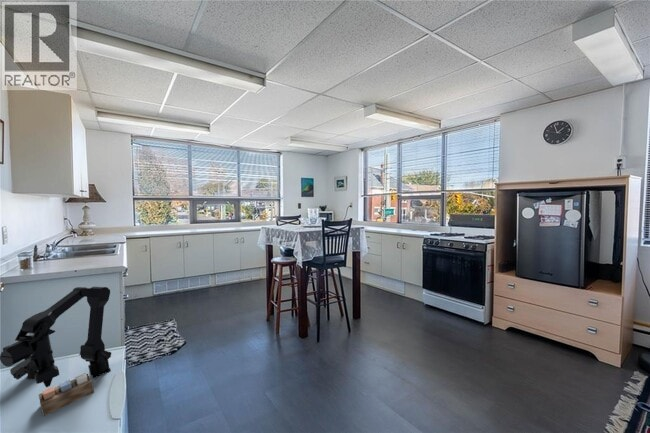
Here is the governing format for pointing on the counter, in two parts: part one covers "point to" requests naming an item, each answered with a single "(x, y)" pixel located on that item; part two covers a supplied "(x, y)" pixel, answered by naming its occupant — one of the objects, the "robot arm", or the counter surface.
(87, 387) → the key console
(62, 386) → the key blue
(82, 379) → the key cream
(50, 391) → the key terracotta
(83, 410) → the counter surface
